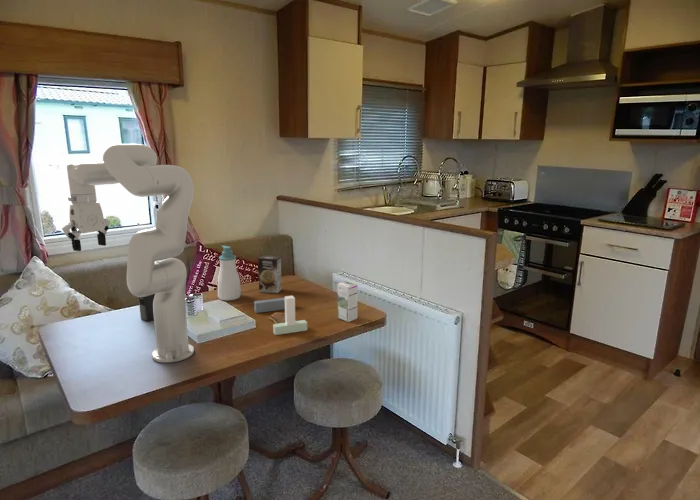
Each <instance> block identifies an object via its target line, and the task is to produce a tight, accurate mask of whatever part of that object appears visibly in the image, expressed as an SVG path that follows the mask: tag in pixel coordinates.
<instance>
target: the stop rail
mask: <svg viewBox="0 0 700 500" xmlns="http://www.w3.org/2000/svg"><path fill="white" fill-rule="evenodd" d="M253 305H254V307H253V308H254V313H256V314H257V313H258V314H259V313H265V312H275V311H281V310H285V297H278V298H271V299H270V298H269V299H262V300H254V301H253Z"/></svg>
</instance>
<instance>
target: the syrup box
mask: <svg viewBox="0 0 700 500" xmlns="http://www.w3.org/2000/svg"><path fill="white" fill-rule="evenodd" d="M358 286H359V285H358V283H357V282H356V283H355V282H353V281H349V280H345V281H341V282H339V283H337V319H339V320H342V321H344V322H347V323H350V322H352V321H355V320H357V319H358V294H359V293H358V291H359V289H358Z"/></svg>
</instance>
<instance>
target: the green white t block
mask: <svg viewBox="0 0 700 500" xmlns="http://www.w3.org/2000/svg"><path fill="white" fill-rule="evenodd" d="M284 298H285V309H284V313H285V321H284V323H279V324H275V323H273V324H272V332H273V334H274V335H275V336H278V335H284V334H291V333H298V332H305V331H308V321H306V319H301V320H296V298H295V296H294V295H285V296H284Z"/></svg>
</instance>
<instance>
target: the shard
mask: <svg viewBox="0 0 700 500" xmlns="http://www.w3.org/2000/svg"><path fill="white" fill-rule="evenodd" d="M268 319H269V320H271V321H272V322H273V324H279V323H285V312H278V311H277V312H274V313H273V314H271V315H269V316H268Z"/></svg>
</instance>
